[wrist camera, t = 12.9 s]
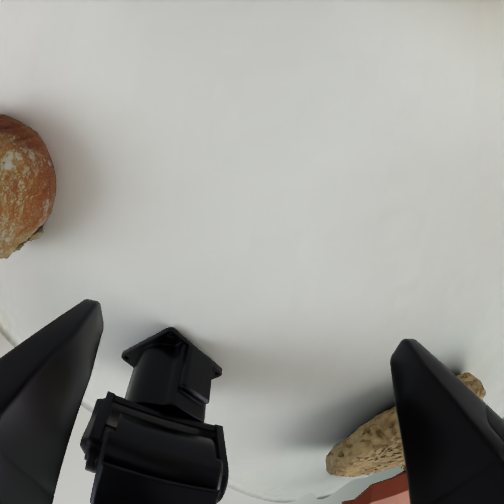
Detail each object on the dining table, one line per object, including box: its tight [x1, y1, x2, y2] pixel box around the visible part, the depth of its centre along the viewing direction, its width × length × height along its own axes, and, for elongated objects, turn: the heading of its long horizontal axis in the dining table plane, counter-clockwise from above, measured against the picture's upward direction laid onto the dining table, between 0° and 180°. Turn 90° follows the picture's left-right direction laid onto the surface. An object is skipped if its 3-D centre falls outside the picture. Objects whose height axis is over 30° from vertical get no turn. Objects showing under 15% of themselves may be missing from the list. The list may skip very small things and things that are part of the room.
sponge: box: [326, 373, 486, 477], centre depth 29 cm, size 13×8×20 cm
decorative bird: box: [342, 464, 410, 504], centre depth 35 cm, size 28×18×15 cm, turn 113°
